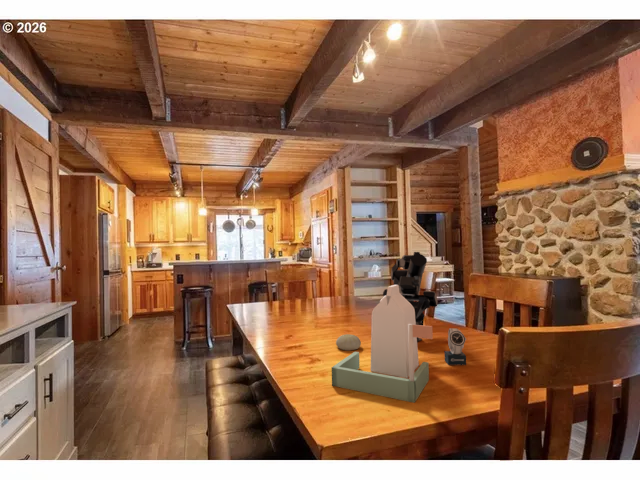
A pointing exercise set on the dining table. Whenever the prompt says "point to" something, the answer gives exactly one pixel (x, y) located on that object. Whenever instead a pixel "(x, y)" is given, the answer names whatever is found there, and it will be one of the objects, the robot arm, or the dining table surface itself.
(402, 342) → the milk
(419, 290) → the robot arm
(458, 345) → the watch
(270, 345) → the dining table surface
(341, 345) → the sea urchin shell
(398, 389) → the corral
